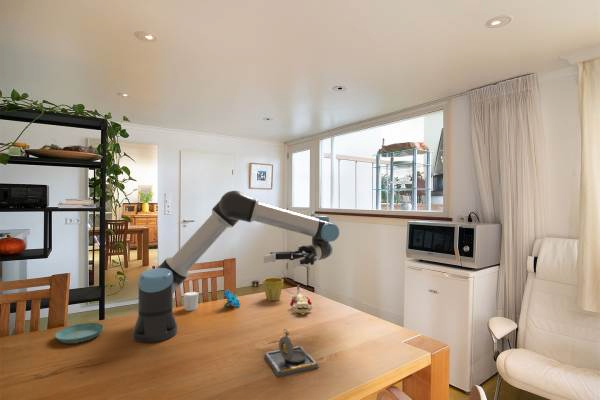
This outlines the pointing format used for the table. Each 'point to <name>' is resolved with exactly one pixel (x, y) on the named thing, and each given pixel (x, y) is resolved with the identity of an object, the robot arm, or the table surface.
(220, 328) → the table surface
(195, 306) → the white cup
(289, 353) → the pocket watch
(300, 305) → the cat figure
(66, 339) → the saucer
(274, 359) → the pocket plate
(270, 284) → the plant pot
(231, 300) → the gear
